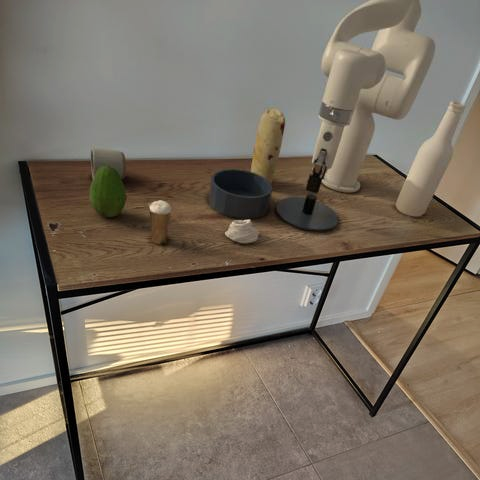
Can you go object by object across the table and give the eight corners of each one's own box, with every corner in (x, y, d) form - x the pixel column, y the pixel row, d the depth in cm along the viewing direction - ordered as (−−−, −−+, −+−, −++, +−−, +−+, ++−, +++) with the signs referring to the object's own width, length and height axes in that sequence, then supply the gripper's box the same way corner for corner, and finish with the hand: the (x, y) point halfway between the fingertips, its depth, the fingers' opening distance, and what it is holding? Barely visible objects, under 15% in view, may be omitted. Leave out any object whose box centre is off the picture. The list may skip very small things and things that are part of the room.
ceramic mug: (127, 184, 114) (126, 155, 109) (94, 185, 111) (92, 155, 106) (120, 167, 121) (119, 139, 116) (89, 167, 118) (87, 138, 113)
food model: (276, 190, 126) (293, 118, 112) (255, 190, 123) (269, 117, 110) (265, 175, 132) (280, 105, 119) (244, 174, 130) (257, 103, 117)
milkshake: (147, 232, 99) (148, 192, 92) (170, 236, 99) (173, 196, 93) (143, 243, 96) (143, 202, 89) (167, 247, 96) (170, 206, 89)
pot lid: (282, 194, 124) (287, 175, 121) (340, 211, 122) (346, 192, 119) (269, 221, 112) (273, 200, 108) (332, 239, 110) (339, 219, 106)
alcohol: (390, 208, 129) (436, 100, 109) (400, 199, 135) (446, 95, 115) (417, 220, 126) (471, 111, 106) (427, 211, 132) (479, 106, 112)
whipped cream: (231, 249, 101) (233, 232, 97) (218, 232, 105) (220, 215, 101) (260, 242, 104) (264, 226, 100) (247, 226, 108) (251, 209, 104)
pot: (219, 184, 123) (222, 163, 119) (273, 199, 121) (278, 179, 117) (200, 207, 111) (202, 186, 107) (259, 225, 110) (263, 203, 106)
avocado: (115, 227, 99) (114, 176, 91) (84, 217, 99) (79, 166, 91) (132, 212, 104) (132, 163, 96) (102, 202, 105) (99, 154, 97)
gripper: (348, 127, 93) (324, 201, 104) (354, 109, 106) (333, 176, 117) (314, 118, 93) (294, 193, 105) (325, 101, 106) (306, 168, 118)
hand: (314, 184), depth 111 cm, fingers open, 9 cm apart
